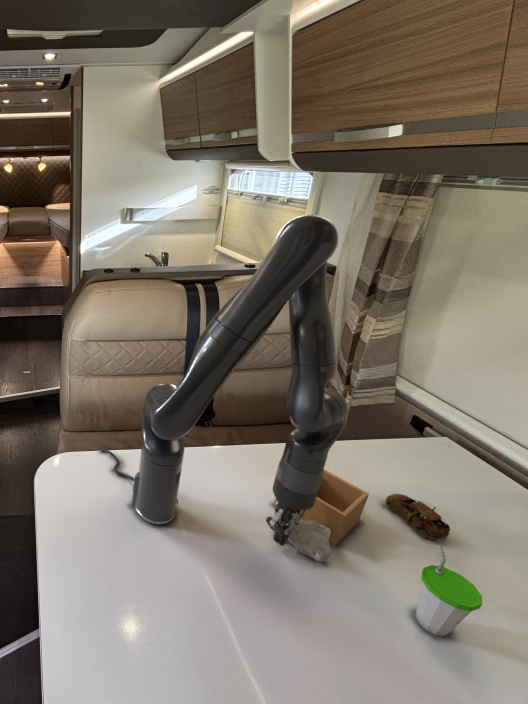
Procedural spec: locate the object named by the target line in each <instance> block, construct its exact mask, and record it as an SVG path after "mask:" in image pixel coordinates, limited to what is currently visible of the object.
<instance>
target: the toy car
mask: <svg viewBox="0 0 528 704" xmlns="http://www.w3.org/2000/svg"><path fill="white" fill-rule="evenodd" d="M384 503H385V505H387V506H386V507H387V509H388V510H389V511H391V512H395V513H396V514H397V515H398V516H400V517H401V518H402V519H403V520H404V521H405V522H406V523H408V524H409V525H411V526H412V528H414V529H416V530H417V531H418V532H419V535H420V536H421V537H423V538H429V539H432V540H441V539H446V538H448V536H449V535H450V532H451V526H450V525H449V523H447V521H446V519H444V518H443V517H442V516H441V515H440V514H438V513H437V512H436V511H435V510H436V508H437V507H436V506H434V505H433V508H432V507H430V506H431V504H429V503H427V502H424V501H419V500H417V499H414V498H411V497H410V496H408V495H406V494H405V495H404V494H402V493H392V494H389V495H388V496H387V497H386V498H385V502H384ZM428 505H429V506H428Z"/></svg>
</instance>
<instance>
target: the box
mask: <svg viewBox="0 0 528 704" xmlns="http://www.w3.org/2000/svg"><path fill="white" fill-rule="evenodd" d="M369 496H370V493H369V492H367V491H365V490H363V489H361V488H359V487H358V486H356V485H354V484H352V483H350V482H348V481H347V480H344V479H343V478H341V477H339V476H338V475H335V474H334V473H332V472H330V471H328V470H326V469H324V470H323V477H322V481H321V484H320V488H319V491H318V494H317V497H316V500H315V504H314V506H313V507H312V508H310V509H308V510H306V511H305V512H304V514H303V516H302V517H301V519H302V520H304V521H311V520H313V521H315V522H316V523H317V524H320V525H324V526H326V527H327V528H329V529H330V530H331V534H330V539H329V544H331V545H333V546H336V545H337V544H338V543H339V542H340V541H341V540H342V539H343V538H344V537H346V535H347V534H348V533H349V532H350V531H352V529H354V527H355V526H357V524H358V523H360V519H361V517H362V514H363V511H364V508H365V506H366V503H367V502H368V499H369ZM277 501H278V500H277V498H276V497H275V500H274V504H273V506H274V507H275V504H276V502H277Z"/></svg>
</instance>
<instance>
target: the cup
mask: <svg viewBox="0 0 528 704" xmlns="http://www.w3.org/2000/svg"><path fill="white" fill-rule="evenodd" d="M437 548H438V551H439V554H440V557H441V560H440V562H439V564H438V565H433V564H430V565H427V566H425V567H423V568H422V570H421V576H420V579H421V581H422V583H421V588H420V592H419V597H418V602H417V605H416V611H415V616H414V617H415V619H416V621H417V623H418V625H419V626H420V627H422V628H423V629H424V631H426V632H427V633H430V634H431V635H432V636H435V637H440V638H444V637H447V636H449V634H450V633H451V632H452V631H453V630H455V628H456V627H458V626H459V624H461V622H462V621H464V620H465V619H466V618H467V617H468V616H469V614H470V613H472V612H473V611H476V610H479V609H481V607H482V606H483V595H482V594H481V593H480V592H479V590H478V588H477V587H476V586H475V585H474V584H473V583H472V582H471V581H469V579H466V578H465V576H462V574H460V573H458V572H455V571H453V570H452V569H449V568H447V567H445V564H446V561H447V557H446V554H445V551H444V548H443V545H437Z"/></svg>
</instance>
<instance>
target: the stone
mask: <svg viewBox="0 0 528 704" xmlns="http://www.w3.org/2000/svg"><path fill="white" fill-rule="evenodd" d="M330 534H331V530H330V529H329V528H327V527H326V526H324V525H320V524H317V523H316V522H315V521H313V520H311V521H304V520H302V519H300V521H299V522H298V524H297V525H294V527H293V530H292V531H290V534H289V538H288V541H287V542H289V543H290V544H291V545H293V546H294V548H295V549H296V550H297V551H298V552H300V553H301V554H303V555H305V556H309V557H310V558H312V559H314V560H315V561H317V562H325V561H327V559H329V557H330V556H331V554H332V550H331V549H332V548H331V545H330V544H331V543H330V542H329V539H330Z"/></svg>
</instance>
